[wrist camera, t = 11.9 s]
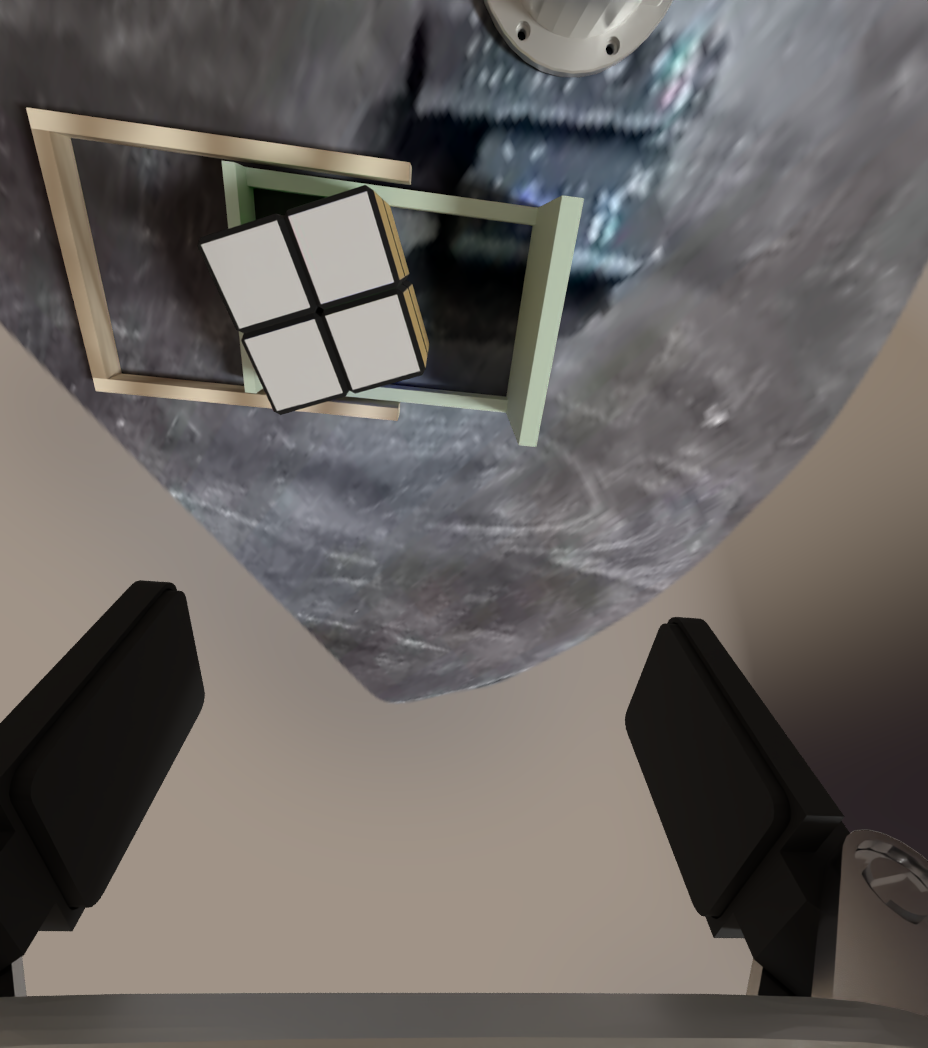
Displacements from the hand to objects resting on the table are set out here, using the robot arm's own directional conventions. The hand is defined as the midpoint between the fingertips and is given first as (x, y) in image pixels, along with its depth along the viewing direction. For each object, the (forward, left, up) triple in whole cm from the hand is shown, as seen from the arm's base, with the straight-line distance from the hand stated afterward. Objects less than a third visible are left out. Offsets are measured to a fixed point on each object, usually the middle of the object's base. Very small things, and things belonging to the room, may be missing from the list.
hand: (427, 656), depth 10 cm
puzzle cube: (+7, -4, -33) cm, 34 cm away
